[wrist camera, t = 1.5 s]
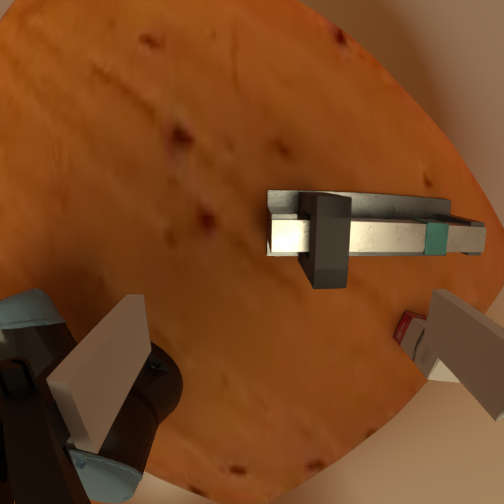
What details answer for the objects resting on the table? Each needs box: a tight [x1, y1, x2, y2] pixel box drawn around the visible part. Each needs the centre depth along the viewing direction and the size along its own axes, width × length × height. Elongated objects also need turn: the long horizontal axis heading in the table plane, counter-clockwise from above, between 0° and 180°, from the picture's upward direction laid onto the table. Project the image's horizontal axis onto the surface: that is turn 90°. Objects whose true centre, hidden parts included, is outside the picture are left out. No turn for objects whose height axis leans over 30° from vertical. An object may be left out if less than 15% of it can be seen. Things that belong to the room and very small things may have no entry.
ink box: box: [393, 311, 461, 383], centre depth 36 cm, size 9×5×12 cm, turn 73°
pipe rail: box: [267, 190, 486, 256], centre depth 34 cm, size 26×8×10 cm, turn 90°
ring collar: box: [298, 191, 352, 289], centre depth 31 cm, size 3×8×10 cm, turn 0°
